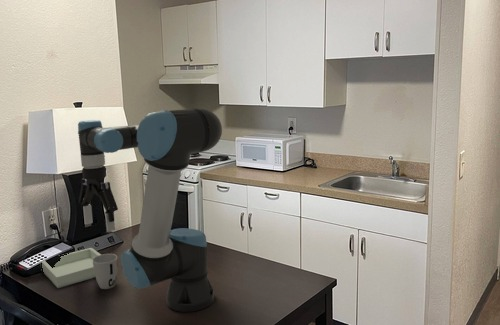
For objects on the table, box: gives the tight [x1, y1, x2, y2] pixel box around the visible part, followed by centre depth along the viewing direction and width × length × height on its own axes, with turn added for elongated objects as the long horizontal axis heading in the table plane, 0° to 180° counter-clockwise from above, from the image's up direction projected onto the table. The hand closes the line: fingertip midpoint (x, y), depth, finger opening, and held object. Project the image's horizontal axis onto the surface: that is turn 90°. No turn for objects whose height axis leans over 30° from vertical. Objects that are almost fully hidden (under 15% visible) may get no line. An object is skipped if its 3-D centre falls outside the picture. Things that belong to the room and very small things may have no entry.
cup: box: [92, 253, 119, 290], centre depth 156 cm, size 8×8×10 cm
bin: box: [40, 247, 102, 289], centre depth 169 cm, size 19×19×4 cm
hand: (99, 227), depth 157 cm, fingers open, 13 cm apart
